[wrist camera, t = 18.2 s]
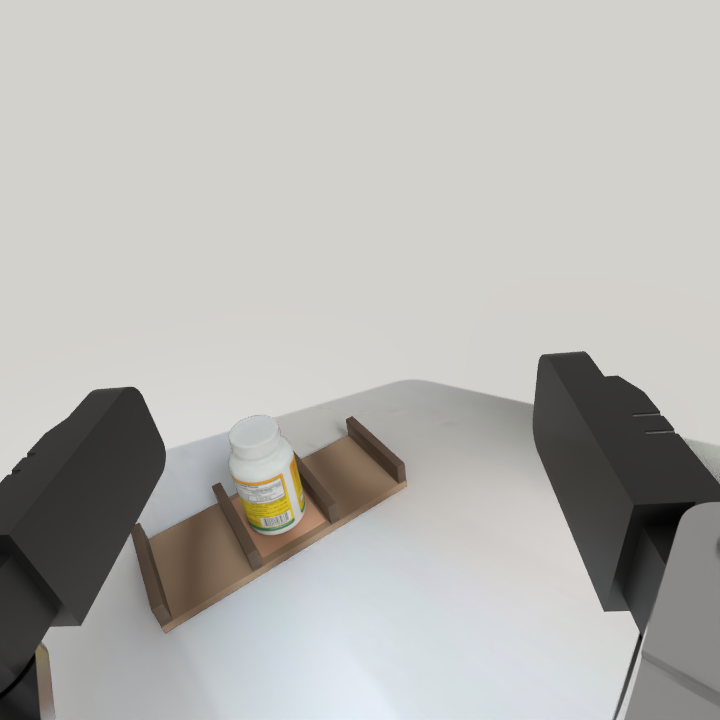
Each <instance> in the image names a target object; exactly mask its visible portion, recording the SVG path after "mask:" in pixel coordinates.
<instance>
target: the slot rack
mask: <svg viewBox="0 0 720 720" xmlns="http://www.w3.org/2000/svg"><path fill="white" fill-rule="evenodd" d="M346 423H347V429H348V436H346V437H344V438H342V439H340V440H338V441H337V442H335V443H333V444H331V445H329V446H327V447H325V448H323V449H321V450H319V451H317V452H315V453H313V454H311V455H310V456H308V457H306V458H304V459H302V460H301V459H300V458H299V457H298V456H297V455H296V453H295V452H294V451H293V452H294V456H295V460H296V464H297V468H298V473H299V477H300V481H301V485H302V489H303V494H304V498H305V503H306V507H305V513H304V515H303V517H302V519H301V520H300V521H299V522H298V524H297V525H296V526H294V527H293V528H292V529H290V530H288V531H286V532H284V533H281V534H278V535H263V534H261V533H258V532H256V531H255V530H253V529H252V528H251V527H250V525H249V523H248V520H247V518H246V515H245V512H244V509H243V506H242V503H241V501H240V498H239V495H238V493H236V494H234V495H232V496H231V497H229V498H228V496H227V494H226V492H225V490H224V489H223V487H222V485H221V483H218V484H216V485H214V486H212V488H213V491H214V493H215V496H216V498H217V501H218V503H217V504H215V505H213V506H211V507H209V508H207V509H206V510H204V511H202V512H200V513H198V514H196V515H194V516H192V517H190V518H188V519H186V520H184V521H182V522H180V523H179V524H177V525H175V526H173V527H171V528H169V529H167V530H165V531H163V532H161V533H159V534H157V535H155V536H153V537H152V538H150V539H148V538H147V536H146V534H145V532H144V530H143V529H142V527H141V525H140V523H138V524H136V525H134V527H133V529H132V531H131V535H132V538H133V542H134V546H135V550H136V553H137V557H138V561H139V565H140V569H141V572H142V576H143V580H144V584H145V588H146V591H147V595H148V599H149V603H150V606H151V610H152V612H153V614H154V615H155V617H156V618H157V620H158V622H159V623H160V625H161V628H162V629H163V631H164V633H167V632H168V631H170V630H172V629H173V628H175V627H176V626H178V625H180V624H181V623H183V622H185V621H186V620H188V619H190V618H191V617H193V616H195V615H196V614H198V613H199V612H201V611H203V610H204V609H206V608H208V607H209V606H211V605H213V604H214V603H216V602H217V601H219V600H221V599H222V598H224V597H226V596H227V595H229V594H231V593H232V592H234V591H236V590H237V589H239V588H240V587H242V586H244V585H245V584H247V583H249V582H250V581H252V580H254V579H255V578H257V577H259V576H260V575H262V574H263V573H265V572H267V571H268V570H270V569H272V568H273V567H275V566H277V565H278V564H280V563H281V562H283V561H285V560H286V559H288V558H290V557H291V556H293V555H295V554H296V553H298V552H300V551H301V550H303V549H304V548H306V547H308V546H309V545H311V544H313V543H314V542H316V541H318V540H319V539H321V538H322V537H324V536H326V535H327V534H329V533H331V532H332V531H334V530H336V529H337V528H339V527H341V526H342V525H344V524H345V523H347V522H349V521H350V520H352V519H354V518H355V517H357V516H359V515H360V514H362V513H364V512H365V511H367V510H368V509H370V508H372V507H373V506H375V505H377V504H378V503H380V502H382V501H383V500H385V499H386V498H388V497H390V496H391V495H393V494H395V493H396V492H398V491H400V490H401V489H403V488H405V487H406V486H407V481H406V475H405V465H404V462H402V461H401V460H400V459H399V458H398V457H397V456H396V455H395V454H394V453H392V452H391V451H390V450H389V449H388V448H387V447H386V446H385V445H384V444H383V443H381V442H380V441H379V440H378V439H377V438H376V437H375V436H374V435H373V434H371V433H370V432H369V431H368V430H367V429H366V428H365V427H364V426H363V425H361V424H360V423H359V422H358V421H357V420H356V419H355V418H354V417H353V416H351V417H349V418H347V419H346Z"/></svg>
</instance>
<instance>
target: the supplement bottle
mask: <svg viewBox="0 0 720 720" xmlns="http://www.w3.org/2000/svg"><path fill="white" fill-rule="evenodd" d="M229 442H230V445H231V448H232V453H231V455H230V459H229V469H230V472H231V475H232V478H233V480H234V483H235V486H236V489H237V492H238V495H239V498H240V501H241V503H242V506H243V509H244V512H245V515H246V518H247V520H248V523H249V525H250V527H251V528H252V529H253V530H255V531H256V532H258V533H261V534H263V535H278V534H281V533H284V532H286V531H288V530H290V529H292V528H293V527H294V526H296V525H297V524H298V522H299V521H300V520H301V519H302V517H303V515H304V513H305V507H306V503H305V498H304V494H303V489H302V485H301V481H300V477H299V473H298V468H297V464H296V460H295V456H294V452H293V448H292V446H291V444H290V442H289V441H288V440H287V439H286V438H285V437H283V436H281V432H280V429H279V426H278V423H277V421H276V420H275V419H274V418H272V417H270V416H265V415H255V416H251V417H248V418H245V419H243V420H241V421H239V422H238V423H237V424H235V425H234V426H233V428H232V429H231V430H230V432H229Z"/></svg>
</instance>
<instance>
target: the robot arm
mask: <svg viewBox="0 0 720 720" xmlns="http://www.w3.org/2000/svg"><path fill="white" fill-rule="evenodd" d="M533 434H534V440H535V444H536V448H537V451H538V453H539V456H540V458H541V461H542V463H543V465H544V468H545V470H546V473H547V475H548V478H549V480H550V482H551V485H552V487H553V490H554V492H555V494H556V497H557V499H558V502H559V504H560V506H561V509H562V511H563V514H564V516H565V519H566V521H567V523H568V526H569V528H570V531H571V533H572V535H573V538H574V540H575V543H576V545H577V547H578V550H579V552H580V555H581V557H582V560H583V562H584V564H585V567H586V569H587V572H588V574H589V576H590V579H591V581H592V584H593V586H594V588H595V591H596V593H597V596H598V598H599V600H600V603H601V605H602V608H603V610H604V612H607V611H630V612H631V614H632V616H633V618H634V620H635V623H636V625H637V627H638V629H639V631H640V632H639V634H638V637H637V640H636V643H635V646H634V649H633V653H632V656H631V659H630V662H629V666H628V669H627V672H626V675H625V679H624V682H623V685H622V688H621V692H620V695H619V698H618V701H617V704H616V708H615V711H614V714H613V717H612V720H720V484H719V483H718V482H717V480H716V479H715V478H714V477H713V476H712V474H711V473H710V472H709V471H708V469H707V468H706V467H705V466H704V465H703V463H702V462H701V461H700V460H699V459H698V457H697V456H696V455H695V454H694V452H693V451H692V450H691V449H690V448H689V446H688V445H687V444H686V443H685V441H684V440H683V439H682V438H681V437H680V435H679V434H675V432H674V428H673V427H672V426H671V424H670V423H669V422H668V421H667V419H666V418H665V417H664V416H661V415H660V411H659V410H658V408H657V407H656V406H655V405H654V404H653V402H652V401H651V400H650V399H649V397H648V396H647V395H646V394H645V393H644V392H643V391H642V390H640V389H639V388H637V387H635V386H634V385H632V384H631V383H629V382H627V381H626V380H624V379H622V378H621V377H619V376H607V377H604V375H603V374H602V373H601V371H600V370H599V369H598V367H597V366H596V364H595V363H594V361H593V360H592V359H591V357H590V356H589V355H588V354H587V353H586V352H584V351H582V352H570V353H557V354H544V355H542V356H541V357H540V359H539V364H538V371H537V382H536V391H535V401H534V411H533ZM165 460H166V452H165V446H164V443H163V441H162V438H161V436H160V434H159V432H158V430H157V427H156V425H155V423H154V421H153V418H152V416H151V414H150V412H149V410H148V407H147V405H146V403H145V401H144V398H143V396H142V394H141V393H140V391H138V389H136V388H134V387H122V388H109V389H97V390H94V391H92V392H90V393H89V394H88V396H87V397H86V398H85V399H84V400H83V401H82V402H81V403H80V405H79V406H78V407H77V408H76V409H75V410H74V411H73V412H72V413H71V415H70V416H69V417H68V418H67V419H65V420H64V421H62V422H61V423H60V424H58V425H57V426H55V427H54V428H53V429H51V430H50V431H48V432H47V433H45V434H44V435H43V437H42V438H41V439H40V440H39V441H38V442H37V443H36V444H35V445H34V446H33V447H32V449H31V450H30V451H29V452H28V453H27V457H25V458H22V460H21V461H20V462H19V463H18V464H17V465H16V466H15V467H14V468H13V469H12V474H11V475H7V476H6V477H5V478H4V479H3V480H2V481H1V483H0V720H55V711H54V701H53V692H52V682H51V672H50V663H49V654H48V650H47V648H46V646H45V645H44V644H43V643H42V642H41V641H42V639H43V637H44V635H45V634H46V632H47V630H48V629H49V627H56V626H81V625H82V623H83V621H84V619H85V617H86V615H87V613H88V611H89V610H90V608H91V606H92V604H93V602H94V600H95V598H96V596H97V595H98V593H99V591H100V589H101V587H102V585H103V583H104V581H105V580H106V578H107V576H108V574H109V572H110V570H111V568H112V566H113V565H114V563H115V561H116V559H117V557H118V555H119V553H120V552H121V550H122V548H123V546H124V544H125V542H126V540H127V538H128V537H129V535H130V533H131V531H132V529H133V527H134V525H135V523H136V522H137V520H138V518H139V516H140V514H141V512H142V510H143V508H144V507H145V505H146V503H147V501H148V499H149V497H150V495H151V493H152V492H153V490H154V488H155V486H156V484H157V482H158V480H159V478H160V477H161V475H162V473H163V470H164V467H165Z"/></svg>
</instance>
